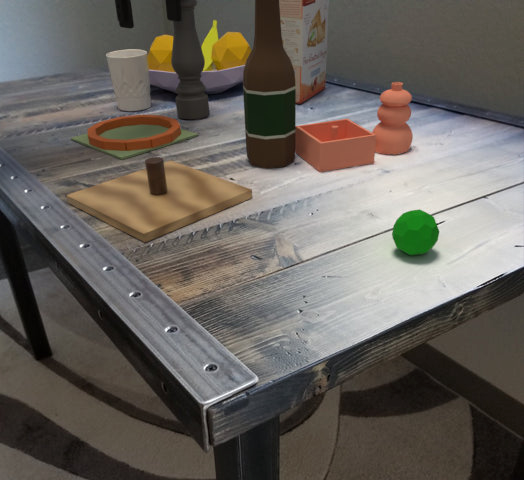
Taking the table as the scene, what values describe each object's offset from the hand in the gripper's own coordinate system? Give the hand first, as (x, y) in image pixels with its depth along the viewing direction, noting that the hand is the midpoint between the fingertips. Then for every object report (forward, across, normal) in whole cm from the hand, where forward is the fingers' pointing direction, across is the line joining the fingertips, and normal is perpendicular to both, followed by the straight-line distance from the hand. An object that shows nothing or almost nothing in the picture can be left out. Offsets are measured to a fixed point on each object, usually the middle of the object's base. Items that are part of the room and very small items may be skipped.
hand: (151, 24), depth 96 cm
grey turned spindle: (+17, -9, -2) cm, 19 cm away
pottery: (+17, -12, +35) cm, 41 cm away
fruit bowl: (+17, -26, -19) cm, 36 cm away
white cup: (+17, -6, -17) cm, 25 cm away
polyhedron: (+17, +10, +60) cm, 63 cm away
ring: (+16, +6, 0) cm, 17 cm away
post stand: (+17, +20, +26) cm, 37 cm away
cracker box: (+16, -34, +4) cm, 38 cm away
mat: (+17, +6, 0) cm, 18 cm away
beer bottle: (+17, -1, +27) cm, 32 cm away
